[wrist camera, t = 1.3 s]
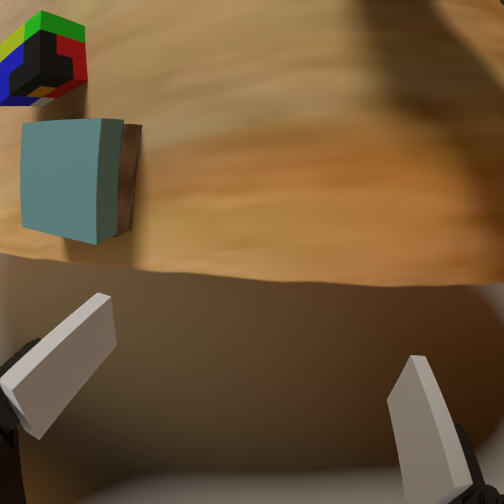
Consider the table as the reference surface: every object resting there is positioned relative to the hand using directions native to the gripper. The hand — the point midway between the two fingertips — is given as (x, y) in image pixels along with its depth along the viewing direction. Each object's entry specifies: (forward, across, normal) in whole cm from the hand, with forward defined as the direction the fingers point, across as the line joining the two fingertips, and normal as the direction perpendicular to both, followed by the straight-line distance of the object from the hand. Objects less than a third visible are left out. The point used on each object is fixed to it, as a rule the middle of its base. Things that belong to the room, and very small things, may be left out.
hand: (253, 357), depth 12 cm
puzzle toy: (+26, -36, +19) cm, 48 cm away
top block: (+22, -27, +2) cm, 35 cm away
